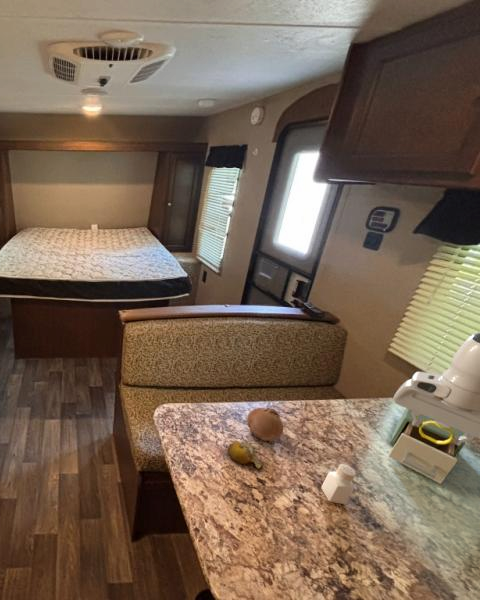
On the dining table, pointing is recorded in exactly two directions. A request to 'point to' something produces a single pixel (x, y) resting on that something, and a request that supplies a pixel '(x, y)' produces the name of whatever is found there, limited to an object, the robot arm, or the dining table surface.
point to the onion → (265, 423)
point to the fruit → (243, 453)
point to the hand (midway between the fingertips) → (434, 434)
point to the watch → (438, 426)
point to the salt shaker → (339, 484)
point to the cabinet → (430, 427)
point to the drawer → (424, 453)
